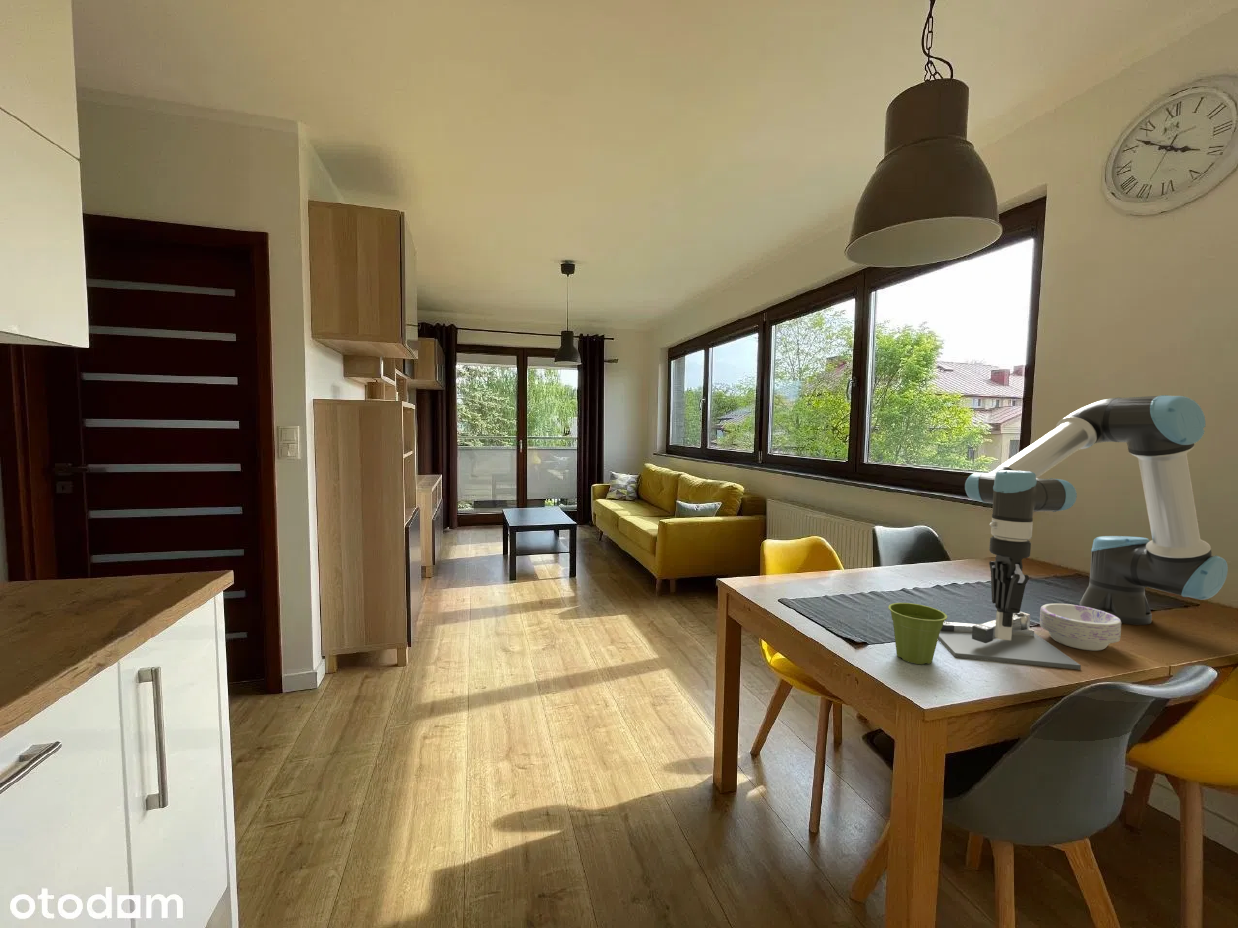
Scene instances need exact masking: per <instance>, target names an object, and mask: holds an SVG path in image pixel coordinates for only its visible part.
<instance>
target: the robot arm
mask: <svg viewBox="0 0 1238 928" xmlns="http://www.w3.org/2000/svg"><path fill="white" fill-rule="evenodd" d="M1204 428H1206V417H1205V414H1204V411H1203V409H1202V408H1201V406H1200V405H1199V404H1198V403H1197V402H1196V401H1195V400H1194V399H1192V398H1190V397H1188V396H1184V395H1183V396H1182V395H1168V394H1167V395H1166V394H1165V395H1163V394H1161V395H1152V396H1151V395H1149V396H1148V395H1147V396H1133V397H1132V396H1130V397H1111V398H1106V399H1101V400H1098V401H1095V402H1092V403H1089V404H1088V405H1084V406H1082V407H1080V408H1078V409H1077V410H1075V411H1073V412H1070V413H1069V414H1068V415H1066V416H1065V417H1063V418H1061V419H1060V420H1058V422H1057V423H1056V425H1055V428H1054V429H1052V430H1050V431H1049V432H1047V433H1046V434H1044V435H1043V436H1042V437H1040V438H1038V439H1036V440H1035V441H1034V442H1033V443H1031V444H1030V445H1028V446H1027V447H1025V448H1023V449H1021V450H1020V451H1019V452H1018V453H1016V454H1014V455H1013V456H1012V457H1010V458H1009V459H1007V460H1005V461H1004V462H1003V463H1002V464H1000V465H998V466H996V467H995V468H994V469H992V470H991V471H989V472H985V471H984V472H983V471H982V472H974V473H971V474H970V475H969V476H968V477H967V479H966V480H965V483H964V490H965V493H966V495H967V497H968V498H969V499H970V500H973V501H977V502H982V503H984V504H992V514H991V522H990V523H989V524H988V525H989V526H990V534H991V535H992V536H991V537H989V547H988V549H989V552H990V553H991V554H993V555H995V557H994V558H995V560H994V561H993V560H991V561H989V562H988V565H989V569H990V583H991V584H990V587H991V602H992V604H995V605H994V606H995V609H996V614H995V615H996V616H995V620H996V627H995V637H996V638H997V639H1002V640H1011V636H1012V623H1013V613H1019V612H1021V608H1022V602H1023V598H1024V595H1025V590H1026V585H1027V584H1028V582H1029V579H1030V577H1029V575H1028V574H1024V572H1023V566H1024V565H1023V561H1022V560H1023V559H1028V558H1030V557H1031V547H1032V541H1030V540H1031V539H1033V538H1032V537H1033V526H1034V525H1033V524H1034V522H1033V519H1034V518H1033V517H1034V512H1037V513H1038V512H1053V513H1056V512H1060V511H1065V510H1068V509H1070V508H1071V507H1073V506H1074V505H1075V503H1076V501H1077V497H1078V494H1077V489H1076V488H1075V487H1074V485H1073V484H1072V483H1071V482H1069V480H1065V479H1060V478H1039V477H1041V476H1042V475H1044V474H1045V473H1047V472H1048V471H1050V470H1051V469H1052V468H1054V467H1056V466H1057V465H1058V464H1060V463H1062V462H1063V461H1064V460H1066V459H1067V458H1068V457H1070V456H1072V455H1073V454H1074V453H1076V452H1077V451H1079V450H1085V449H1088V448H1090V447H1092V446H1094V445H1095V444H1096V445H1097V444H1099V443H1108V442H1109V443H1111V442H1112V443H1126V446H1127V450H1128V451H1127V452H1128V454H1130V455H1132V456H1133V457H1135V458H1137V460H1138V461H1137V462H1138V466H1139V472H1140V478H1141V483H1142V487H1143V493H1144V499H1145V500H1144V501H1145V504H1146V506H1145V507H1146V512H1147V517H1148V522H1149V523H1148V524H1149V527H1150V533H1151V540H1150V539H1149V538H1147V537H1144V536H1143V537H1142V536H1141V537H1140V536H1127V535H1123V536H1122V535H1102V536H1097V537H1095V538H1094V539H1093V542H1092V546H1091V547H1092V548H1091V550H1090V552H1091V553H1090V554H1091V555H1090V556H1091V557H1090V568H1089V569H1090V571H1089V583H1088V586H1087V588H1086V590H1085V592H1084V594H1083V595H1082V597H1081V599H1080V601H1079V606H1084V607H1089V608H1093V609H1097V610H1101V611H1104V612H1107V613H1110V614H1112V615H1114V616H1116V617H1118V618H1119V619H1120V620H1121V624H1125V625H1126V624H1127V625H1138V626H1143V625H1150V624H1152V617H1153V616H1152V615H1153V614H1152V611H1151V608H1150V606H1149V603H1148V599H1147V597H1146V588H1149V589H1153V590H1157V591H1162V592H1166V593H1169V594H1174V595H1177V596H1181V597H1183V598H1191V599H1195V600H1208V599H1211V598H1213V597H1214V596H1215V595H1217V594H1218V593H1219V592H1220V590H1221V589H1222V588H1223V586H1224V584H1225V582H1226V580H1227V577H1228V570H1229V568H1228V567H1229V566H1228V563H1227V561H1226V559H1225V558H1224V557H1221V556H1219V555H1213V553H1212V547H1211V545H1210V543H1208V542H1207V541H1206V540H1203V539H1201V534H1200V528H1199V523H1198V522H1199V521H1198V515H1197V510H1196V509H1197V507H1196V503H1195V495H1194V492H1193V491H1194V490H1193V484H1192V479H1191V472H1190V467H1189V466H1190V465H1189V460H1188V453H1189V452H1191V451H1192V450H1193V449H1194V448H1195V444H1196V443H1198V442H1199V441H1201V439H1202V437H1203V436H1204V434H1205V432H1206V431H1205V429H1204Z"/></svg>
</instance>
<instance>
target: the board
mask: <svg viewBox="0 0 1238 928" xmlns="http://www.w3.org/2000/svg"><path fill="white" fill-rule="evenodd" d="M938 641H940V643H941V644H942V645H943V646H944V647H945V648H946V649H947V650H948V651H949V652H950V653H951V655H953V657H955V658H960V659H969V660H970V659H971V660H981V661H992V662H999V663H1000V662H1001V663H1010V664H1020V665H1029V666H1030V665H1031V666H1039V667H1050V668H1062V669H1070V670H1081V668H1082V665H1081V664H1080V663H1078V662H1077V661H1075V660H1074V659H1073V658H1071V657H1070V656H1068V655H1067V654H1065V653H1064V652H1062V651H1061V650H1060V649H1058V648H1057V647H1055V646H1054V645H1052V644H1051V643H1049V642H1048V641H1047V640H1045V639H1044V638H1043V637H1041V636H1040V635H1038V634H1037V633H1036V632H1034V637H1033V636H1018V635H1012V636H1011V640H1002V639H997V638H996V639H993V641H991V642H988V643H983V642H980V641H977V640H974V639H972V632H960V631H954V632H952V631H940V634H939V637H938Z"/></svg>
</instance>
